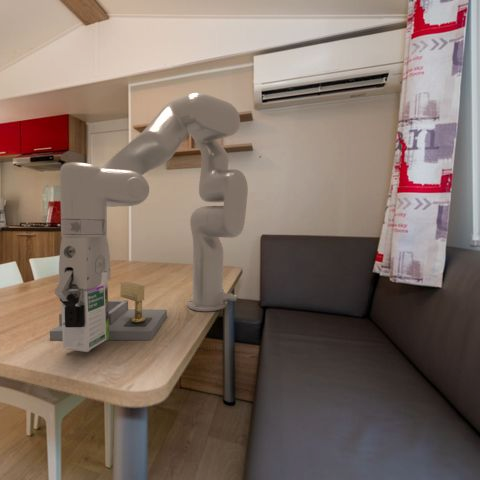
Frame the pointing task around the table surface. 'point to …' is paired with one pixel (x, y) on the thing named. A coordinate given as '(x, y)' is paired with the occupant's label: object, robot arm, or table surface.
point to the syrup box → (89, 320)
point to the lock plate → (124, 323)
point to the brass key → (134, 299)
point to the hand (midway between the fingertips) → (86, 318)
